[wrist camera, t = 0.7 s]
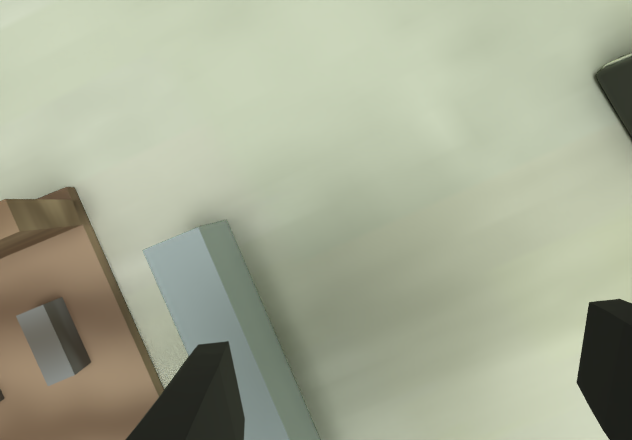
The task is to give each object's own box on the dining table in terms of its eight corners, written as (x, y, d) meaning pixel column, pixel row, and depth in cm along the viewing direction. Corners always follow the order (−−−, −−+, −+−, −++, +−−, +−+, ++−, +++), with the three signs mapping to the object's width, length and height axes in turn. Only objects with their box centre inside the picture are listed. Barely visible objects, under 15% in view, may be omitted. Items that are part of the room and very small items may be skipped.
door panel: (332, 465, 29) (344, 567, 21) (278, 488, 29) (269, 599, 21) (226, 219, 28) (198, 226, 20) (171, 242, 28) (120, 259, 20)
